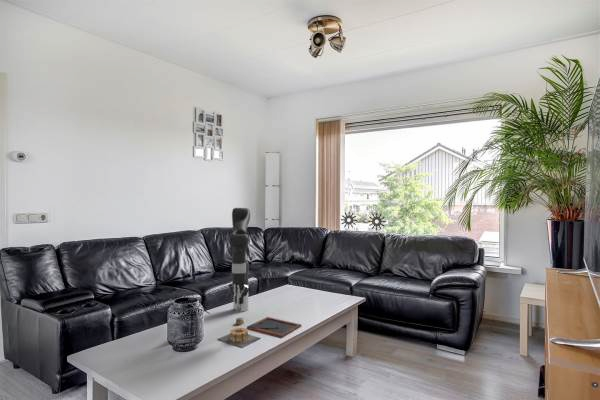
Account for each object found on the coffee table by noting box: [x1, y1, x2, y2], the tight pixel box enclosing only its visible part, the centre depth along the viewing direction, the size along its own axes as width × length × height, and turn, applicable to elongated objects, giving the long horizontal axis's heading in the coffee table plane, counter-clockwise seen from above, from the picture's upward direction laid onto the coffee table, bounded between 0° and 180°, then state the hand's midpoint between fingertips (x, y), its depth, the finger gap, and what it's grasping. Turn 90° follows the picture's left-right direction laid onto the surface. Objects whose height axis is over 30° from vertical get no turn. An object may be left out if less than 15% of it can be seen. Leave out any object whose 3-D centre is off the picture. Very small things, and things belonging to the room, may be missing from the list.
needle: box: [236, 290, 242, 313], centre depth 186 cm, size 2×2×12 cm
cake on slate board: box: [217, 327, 261, 349], centre depth 186 cm, size 18×14×4 cm
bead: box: [235, 317, 245, 326], centre depth 209 cm, size 4×4×3 cm
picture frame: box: [246, 316, 302, 339], centre depth 203 cm, size 20×2×25 cm
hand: (238, 303), depth 186 cm, fingers closed on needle, 2 cm apart
